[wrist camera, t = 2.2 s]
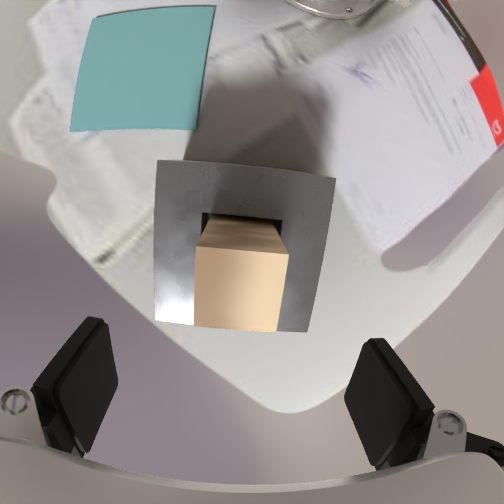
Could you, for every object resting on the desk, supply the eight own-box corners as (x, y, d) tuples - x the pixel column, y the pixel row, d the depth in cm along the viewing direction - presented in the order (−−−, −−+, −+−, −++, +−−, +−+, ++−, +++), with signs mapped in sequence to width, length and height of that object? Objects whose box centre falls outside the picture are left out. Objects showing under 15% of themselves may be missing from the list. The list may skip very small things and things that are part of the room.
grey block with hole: (306, 172, 27) (336, 178, 19) (289, 286, 31) (307, 332, 22) (182, 159, 26) (157, 160, 18) (176, 276, 30) (155, 320, 21)
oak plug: (267, 213, 24) (289, 254, 14) (261, 262, 26) (275, 332, 15) (214, 208, 24) (196, 246, 13) (211, 257, 25) (193, 325, 15)
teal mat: (214, 9, 21) (214, 6, 21) (196, 130, 25) (195, 129, 25) (94, 20, 20) (92, 18, 20) (72, 132, 24) (69, 131, 24)
